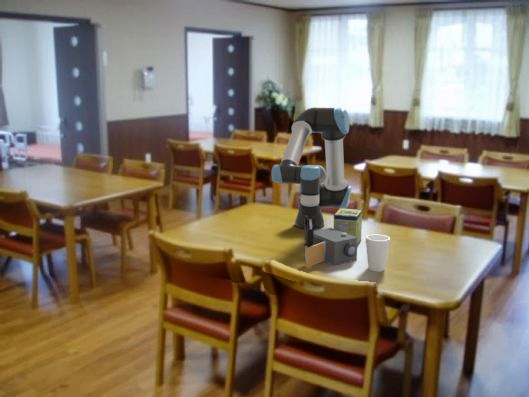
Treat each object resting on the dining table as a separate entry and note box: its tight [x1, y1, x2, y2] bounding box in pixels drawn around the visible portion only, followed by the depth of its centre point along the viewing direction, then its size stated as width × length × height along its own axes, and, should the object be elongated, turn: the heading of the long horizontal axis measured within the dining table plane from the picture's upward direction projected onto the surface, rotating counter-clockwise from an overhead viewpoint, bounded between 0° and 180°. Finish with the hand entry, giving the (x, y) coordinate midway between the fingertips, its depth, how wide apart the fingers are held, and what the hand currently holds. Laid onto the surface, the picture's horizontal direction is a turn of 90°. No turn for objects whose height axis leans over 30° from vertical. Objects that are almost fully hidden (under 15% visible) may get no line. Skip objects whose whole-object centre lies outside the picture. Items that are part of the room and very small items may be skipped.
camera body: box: [312, 227, 358, 266], centre depth 229 cm, size 12×20×11 cm, turn 32°
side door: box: [305, 241, 326, 268], centre depth 219 cm, size 1×12×8 cm, turn 137°
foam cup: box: [365, 233, 391, 272], centre depth 215 cm, size 10×9×13 cm
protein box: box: [333, 207, 363, 248], centre depth 246 cm, size 10×16×16 cm
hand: (308, 259), depth 221 cm, fingers closed
